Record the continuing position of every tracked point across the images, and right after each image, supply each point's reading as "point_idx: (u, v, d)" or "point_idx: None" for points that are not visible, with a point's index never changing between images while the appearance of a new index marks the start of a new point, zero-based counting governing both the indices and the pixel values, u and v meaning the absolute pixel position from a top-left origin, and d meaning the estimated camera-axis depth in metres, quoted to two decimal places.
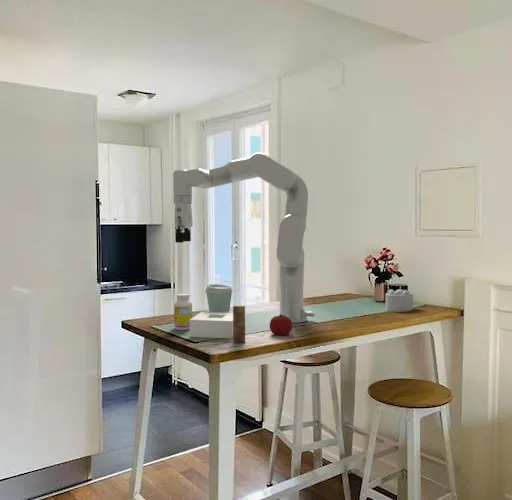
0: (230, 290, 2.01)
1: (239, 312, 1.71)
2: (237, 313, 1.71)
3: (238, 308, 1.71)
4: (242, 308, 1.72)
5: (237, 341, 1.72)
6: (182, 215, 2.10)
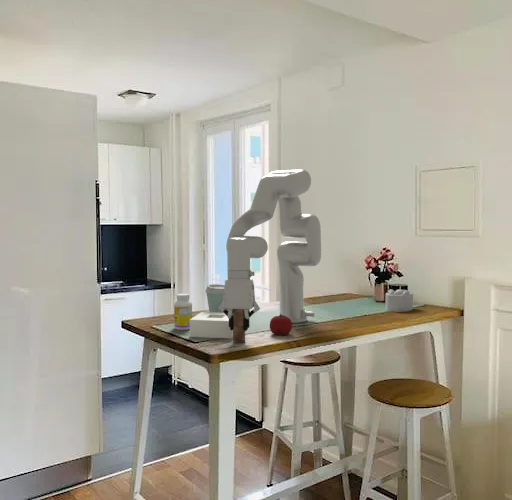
0: None
1: (239, 312, 1.71)
2: (237, 313, 1.71)
3: None
4: None
5: (237, 341, 1.72)
6: (254, 293, 1.73)
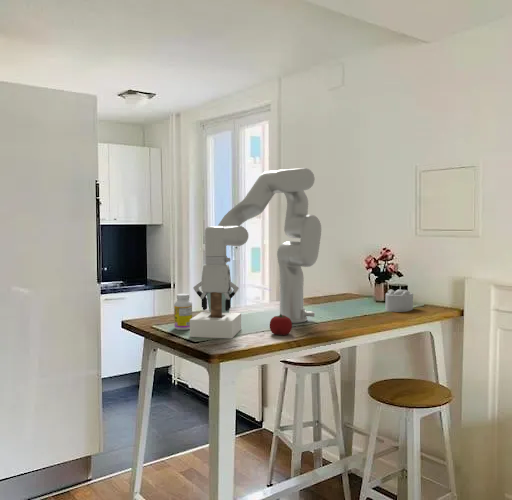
0: (230, 290, 2.01)
1: (215, 297, 1.85)
2: (214, 297, 1.85)
3: (215, 293, 1.85)
4: (219, 293, 1.85)
5: None
6: (230, 278, 1.87)
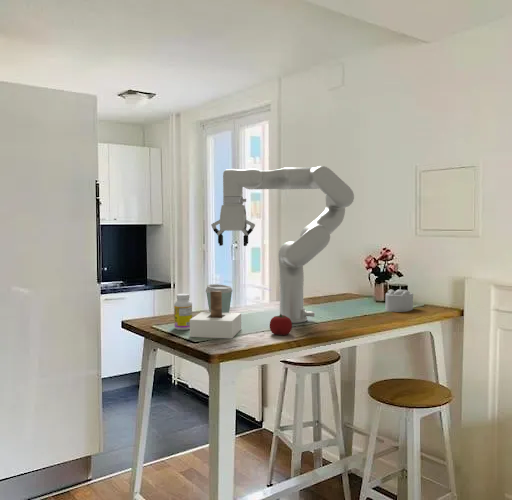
0: (230, 290, 2.01)
1: (215, 297, 1.85)
2: (214, 297, 1.85)
3: (215, 293, 1.85)
4: (219, 293, 1.85)
5: None
6: None
